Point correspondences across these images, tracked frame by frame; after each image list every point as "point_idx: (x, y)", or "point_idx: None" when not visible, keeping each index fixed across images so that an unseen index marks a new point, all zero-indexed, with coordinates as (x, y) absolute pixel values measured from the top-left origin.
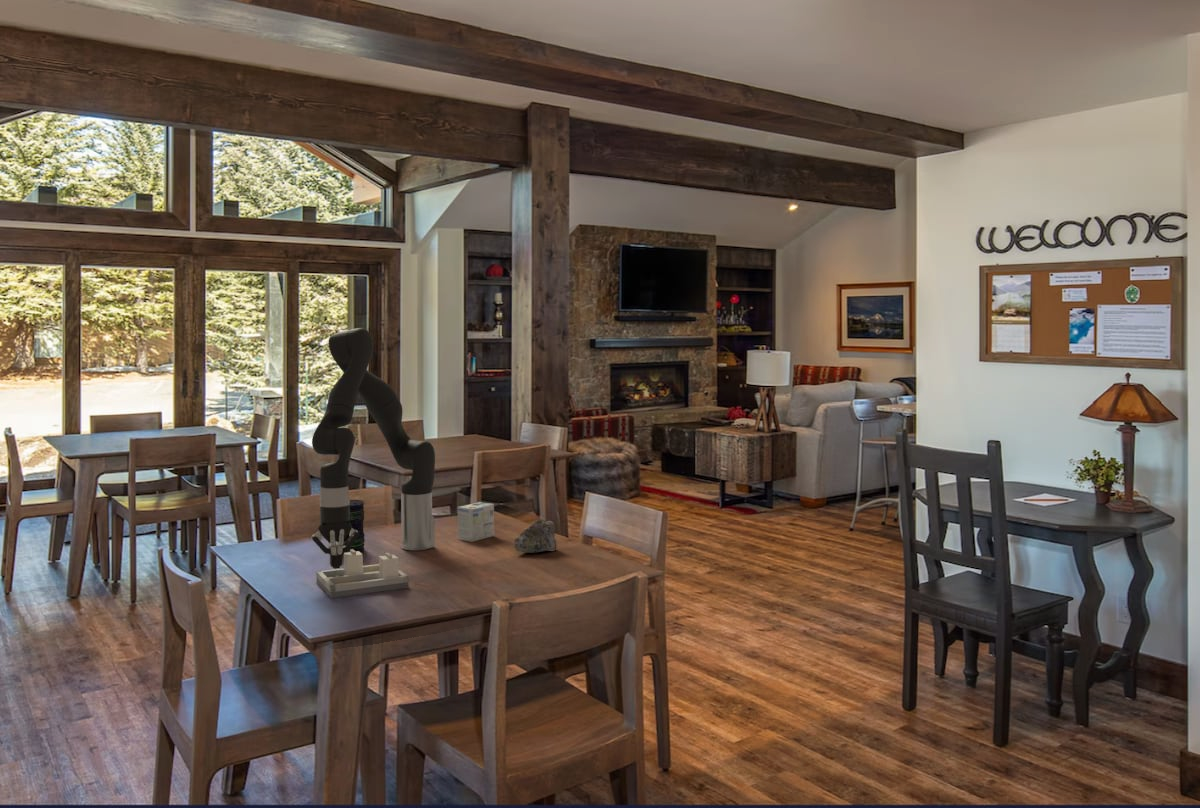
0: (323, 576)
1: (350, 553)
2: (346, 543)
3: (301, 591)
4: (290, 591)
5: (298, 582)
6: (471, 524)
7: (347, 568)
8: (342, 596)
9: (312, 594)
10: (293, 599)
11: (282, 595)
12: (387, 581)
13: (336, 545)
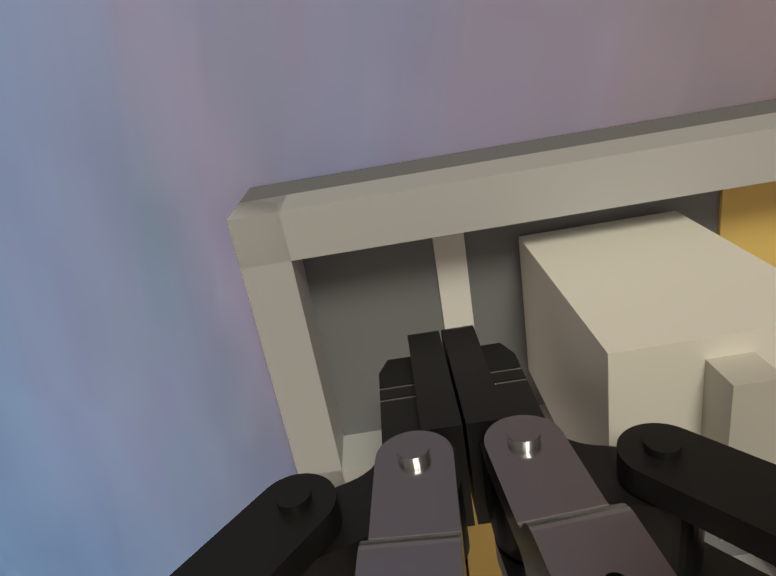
0: (304, 424)
1: (692, 416)
2: (731, 527)
3: (139, 410)
4: (46, 388)
5: (65, 116)
6: None
7: (556, 420)
8: None
9: (231, 499)
10: (108, 566)
11: (5, 468)
12: None
13: (520, 538)
